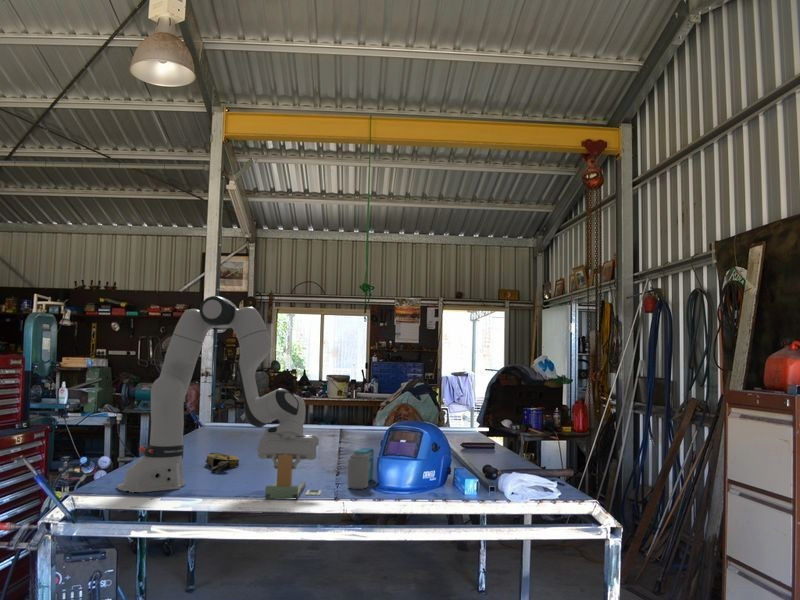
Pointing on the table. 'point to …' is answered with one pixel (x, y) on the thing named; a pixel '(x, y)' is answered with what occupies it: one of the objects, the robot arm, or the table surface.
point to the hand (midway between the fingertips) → (284, 467)
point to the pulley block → (221, 461)
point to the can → (358, 471)
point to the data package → (370, 455)
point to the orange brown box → (284, 470)
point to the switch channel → (288, 491)
